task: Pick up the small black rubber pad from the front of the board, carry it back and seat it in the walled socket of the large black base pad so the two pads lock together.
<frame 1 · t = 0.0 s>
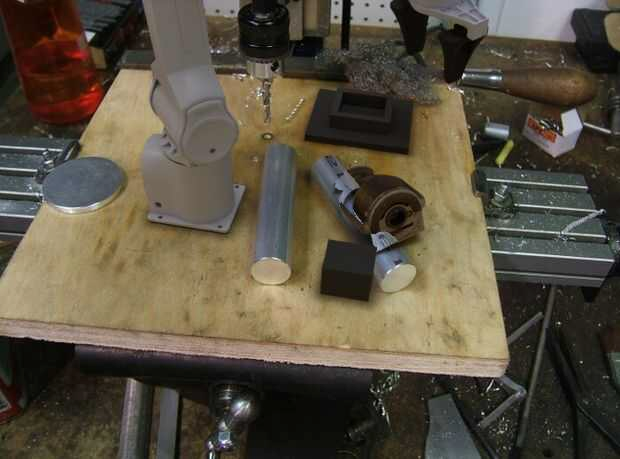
hand: (433, 65, 70), 11 cm above the table, tool pointing down, fingers open, 7 cm apart
brown bearing housing: (375, 215, 66), on the table
base pad: (360, 122, 79), on the table
small pad: (346, 282, 58), on the table
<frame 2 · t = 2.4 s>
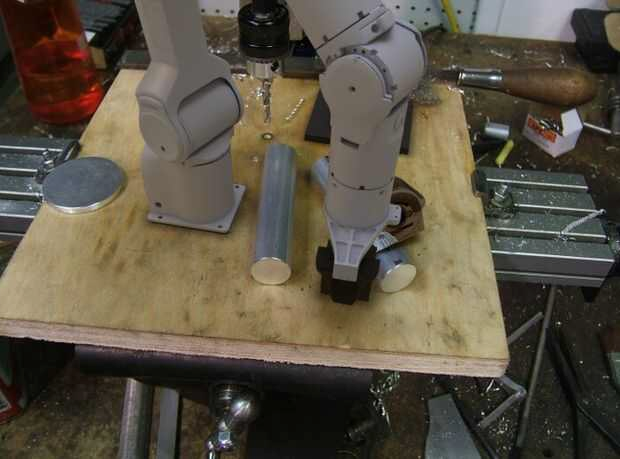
hand: (348, 272, 57), 2 cm above the table, tool pointing down, fingers open, 7 cm apart
brown bearing housing: (375, 215, 66), on the table, touching gripper
everything else where it was.
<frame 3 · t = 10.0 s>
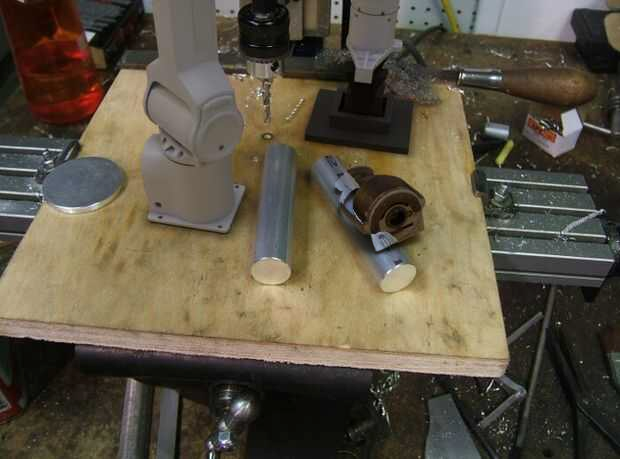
hand: (363, 103, 77), 3 cm above the table, tool pointing down, fingers closed on small pad, 4 cm apart
brown bearing housing: (375, 215, 66), on the table
small pad: (362, 113, 78), point 2 cm above the table, touching gripper
when the fingers open (4 cm above the table, at t = 13.8 s): small pad drops 1 cm, resting on base pad.
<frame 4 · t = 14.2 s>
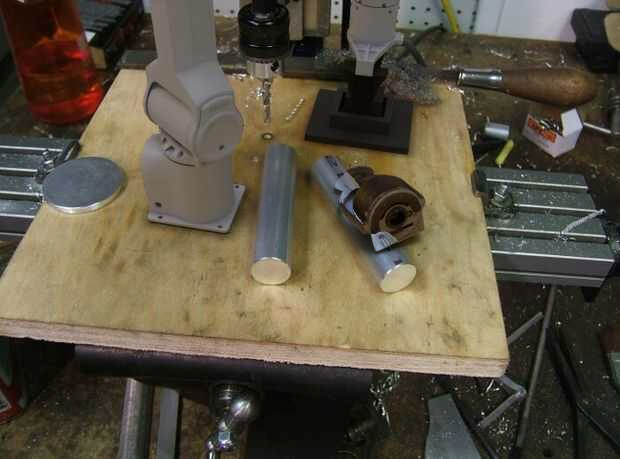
hand: (363, 97, 76), 4 cm above the table, tool pointing down, fingers open, 7 cm apart
small pad: (362, 116, 79), point 1 cm above the table, touching base pad
everything else where it was.
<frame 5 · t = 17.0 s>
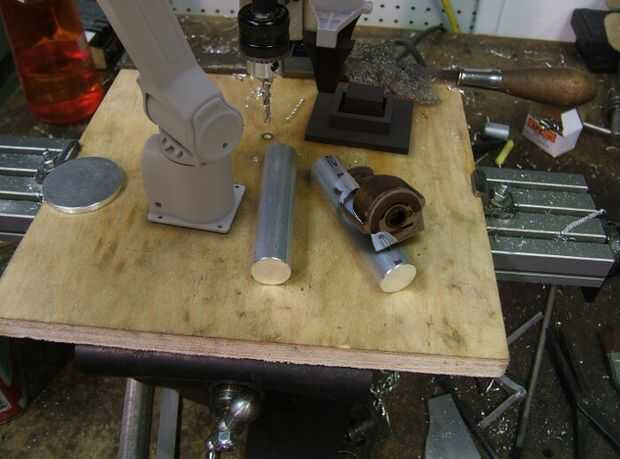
hand: (331, 75, 69), 10 cm above the table, tool pointing down, fingers open, 7 cm apart
nothing on the table moved.
at the end: small pad 0.1 cm off-centre on the base pad, point 1.0 cm above the base pad's base; small pad tilted 0°; the gripper is holding nothing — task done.
